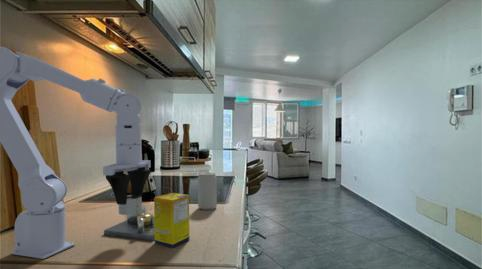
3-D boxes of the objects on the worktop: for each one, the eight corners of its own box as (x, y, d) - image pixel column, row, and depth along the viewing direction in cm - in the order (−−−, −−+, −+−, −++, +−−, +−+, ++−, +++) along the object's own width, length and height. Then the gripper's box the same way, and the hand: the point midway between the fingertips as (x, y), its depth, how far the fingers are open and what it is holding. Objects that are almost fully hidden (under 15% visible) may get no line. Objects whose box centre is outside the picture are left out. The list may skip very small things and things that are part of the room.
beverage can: (218, 205, 102) (218, 172, 102) (214, 210, 96) (214, 174, 96) (200, 205, 103) (200, 171, 103) (196, 210, 97) (195, 174, 97)
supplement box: (171, 235, 73) (171, 192, 73) (190, 240, 70) (189, 194, 70) (153, 243, 68) (153, 196, 68) (172, 248, 65) (172, 199, 65)
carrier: (103, 234, 74) (103, 214, 74) (138, 219, 87) (138, 201, 87) (153, 240, 70) (153, 219, 70) (181, 223, 83) (181, 205, 83)
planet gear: (114, 213, 68) (113, 198, 68) (128, 208, 73) (128, 194, 73) (132, 215, 66) (131, 200, 66) (145, 209, 71) (145, 195, 71)
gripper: (121, 146, 61) (122, 210, 61) (160, 143, 75) (161, 195, 75) (94, 146, 63) (95, 208, 64) (137, 143, 77) (138, 194, 77)
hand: (129, 201), depth 70 cm, fingers closed on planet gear, 5 cm apart
